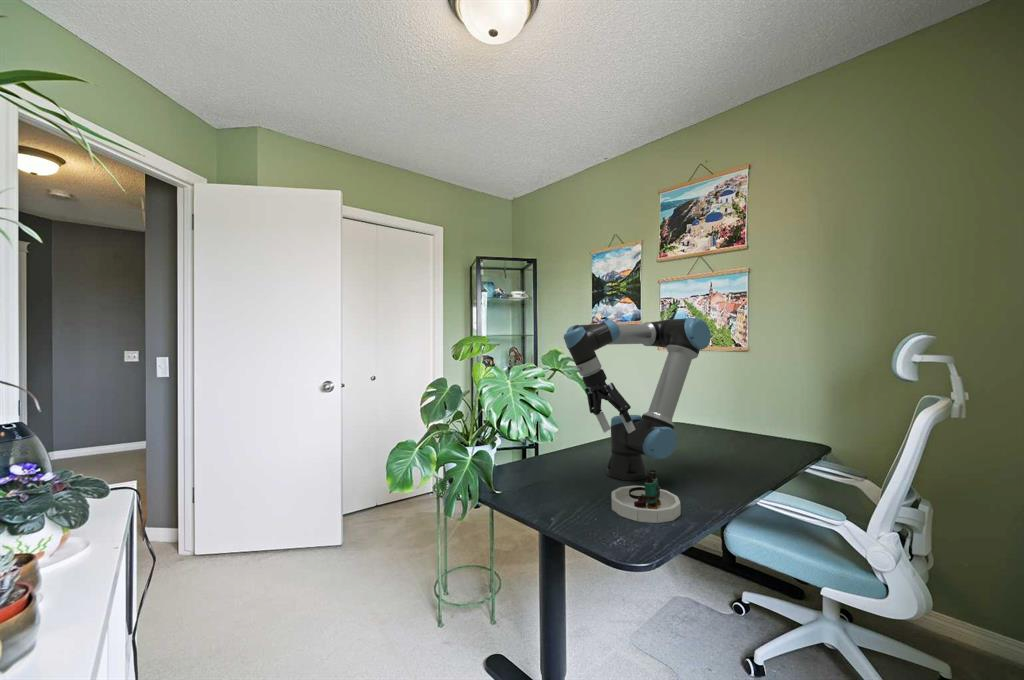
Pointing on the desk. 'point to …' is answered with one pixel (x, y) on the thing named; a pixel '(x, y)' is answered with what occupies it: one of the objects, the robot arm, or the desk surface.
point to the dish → (643, 514)
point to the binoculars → (648, 492)
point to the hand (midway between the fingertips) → (619, 431)
